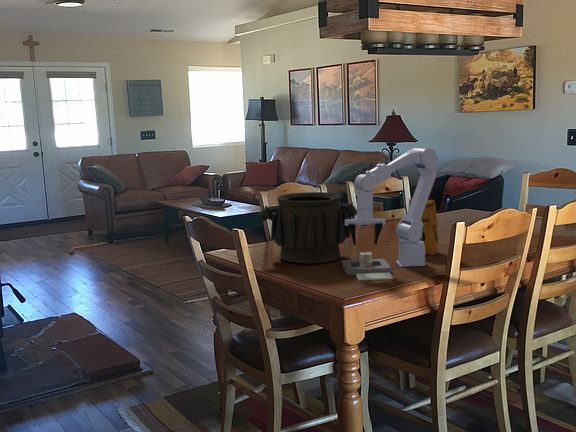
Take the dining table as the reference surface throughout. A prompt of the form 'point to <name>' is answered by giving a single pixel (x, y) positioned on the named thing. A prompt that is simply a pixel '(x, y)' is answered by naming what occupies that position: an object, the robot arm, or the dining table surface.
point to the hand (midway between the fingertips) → (365, 244)
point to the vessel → (309, 226)
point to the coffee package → (429, 228)
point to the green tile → (374, 276)
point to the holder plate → (365, 267)
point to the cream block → (365, 259)
